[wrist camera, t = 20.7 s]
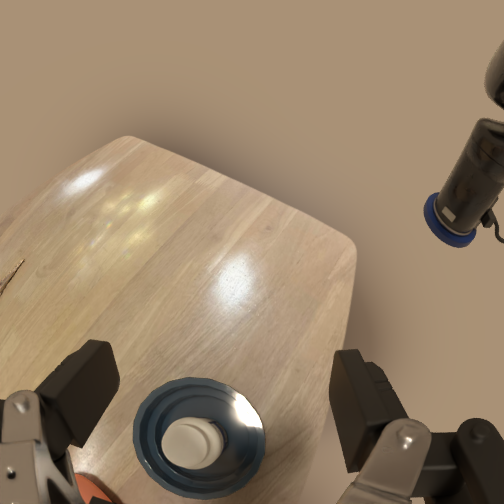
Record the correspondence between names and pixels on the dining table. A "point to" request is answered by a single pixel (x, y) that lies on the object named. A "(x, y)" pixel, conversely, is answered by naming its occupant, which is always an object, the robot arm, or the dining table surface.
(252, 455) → the bowl
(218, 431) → the pill bottle
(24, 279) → the dining table surface
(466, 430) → the robot arm
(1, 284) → the jawbone
